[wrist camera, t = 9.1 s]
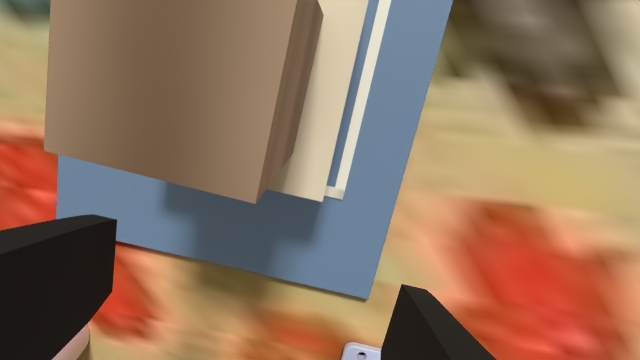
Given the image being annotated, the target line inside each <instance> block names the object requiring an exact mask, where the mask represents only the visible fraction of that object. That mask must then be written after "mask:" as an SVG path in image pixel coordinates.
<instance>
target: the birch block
mask: <svg viewBox="0 0 640 360" xmlns="http://www.w3.org/2000/svg"><path fill="white" fill-rule="evenodd" d="M368 1H369V0H318V2H319V4H320V7H321V9H322V12H323V14H324V16H323V20H322V25H321V29H320V34H319V38H318V42H317V47H316V51H315V56H314V60H313V65H312V69H311V74H310V78H309V83H308V87H307V92H306V96H305V101H304V105H303V109H302V114H301V118H300V123H299V127H298V132H297V136H296V141H295V145H294V150H293V154H292V155H291V157H290V158H289V159H288V161H287V162H286V163H285V165H284V166H283V167H282V169H281V170H280V172H279V173H278V174H277V176H276V177H275V178H274V180H273V181H272V182H271V184H270V185H269V186H268V188H267V189H268V190H272V191H277V192H281V193H286V194H290V195H294V196H299V197H303V198H307V199H312V200H316V201H320V202H323V198H324V193H325V189H326V184H327V180H328V176H329V171H330V167H331V163H332V158H333V154H334V150H335V145H336V141H337V136H338V132H339V128H340V123H341V119H342V115H343V110H344V106H345V102H346V97H347V93H348V88H349V84H350V80H351V75H352V71H353V67H354V62H355V58H356V54H357V49H358V45H359V41H360V36H361V32H362V27H363V23H364V19H365V14H366V10H367V6H368Z"/></svg>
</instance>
